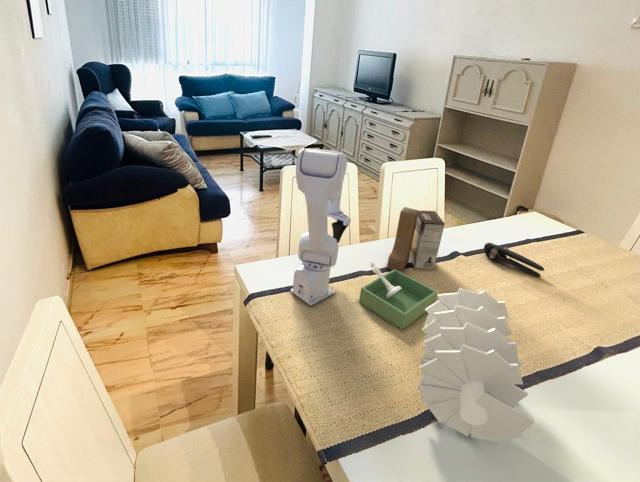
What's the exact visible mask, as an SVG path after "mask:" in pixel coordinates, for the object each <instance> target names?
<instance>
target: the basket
mask: <svg viewBox="0 0 640 482" xmlns="http://www.w3.org/2000/svg"><path fill="white" fill-rule="evenodd" d="M383 276H384V277H385V279H386V280H387V281H388V282H389V283H390V284H391V285H392V286H394V287H397V286H400V287H401V288H402V289H400V290H399V291H398V292H396V293H395V294H393V295H392V296H391V297H389V298H388V299H387V297H386V294H387V293H388V291H387V288H386V286H385V285H384V283H383V281H382V280H381V278H379V279H378V278H376V279H374V280H372V281H371V282H369V283H367V284H366V285H363V286H362V287H360V293H359V300H358V302H359V303H360V304H361V305H362V306H365V307H366V308H368V309H369V310H371V311H373V312H374V313H375V314H377V315H378V316H380V317H382V318H383V319H385V320H386V321H388V323H391V324H392V325H394V326H395V327H397V328H399V329H400V330H404V329H405V328H406V327H408V326H409V325H410V324H411V323H413V322H414V321H415V320H417V319H418V318H419V317H421V316H423V315H424V314H425V313H427V312H426V311H425V309H426V308H427V307H429V306H430V305H432V304H434V303H435V302H436V300H437V297H438V291H437V290H435V289H433V288H432V287H429V286H427V285H426V284H424V283H422V282H420V281H418V280H416V279H414V278H412V277H411V276H409V275H407V274H405V273H403V272H399V271H397V270H395V269H394V270H389V272H387V273H384V275H383Z"/></svg>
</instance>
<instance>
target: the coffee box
mask: <svg viewBox="0 0 640 482" xmlns="http://www.w3.org/2000/svg"><path fill="white" fill-rule="evenodd" d="M418 211H419V212H418V217H417V222H416V227H415V232H414V237H413V242H412V247H411V252H410V257H409V261H410V262H411V264H412V266H413V268H414V269H423V270H425V269H426V270H434V269H435V265H436V262H437V258H438V253H439V249H440V245H441V241H442V237H443V236H442V235H443V233H444V228H445V225H446V223H445V222H444V221H443V220H442V218H441V217H440V216H439V214H438V213H437V212H436V210H418Z"/></svg>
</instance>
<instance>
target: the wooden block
mask: <svg viewBox="0 0 640 482" xmlns="http://www.w3.org/2000/svg"><path fill="white" fill-rule="evenodd" d="M419 211H420V210H418V209H415V208H411V207H407V206H405V207H403V208H402V209H401V210H400V212H399V217H398V222H397V228H396V232H395V233H396V234H395V239H394V244H393V247H392V250H391V253H389V256H388V259H387V265H386V269H387V270H389V271H392V270H394V269H395V270H397V271H399V272H401V273H403V271H404V270H405V267H406V266H407V264H408V263H409V261H410V258H409V257H410V252H411V247H412V242H413V237H414V232H415V227H416V222H417V217H418V212H419Z"/></svg>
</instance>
